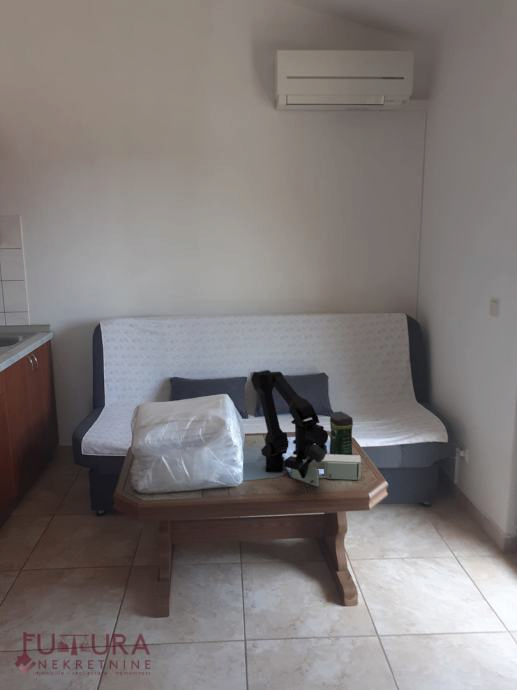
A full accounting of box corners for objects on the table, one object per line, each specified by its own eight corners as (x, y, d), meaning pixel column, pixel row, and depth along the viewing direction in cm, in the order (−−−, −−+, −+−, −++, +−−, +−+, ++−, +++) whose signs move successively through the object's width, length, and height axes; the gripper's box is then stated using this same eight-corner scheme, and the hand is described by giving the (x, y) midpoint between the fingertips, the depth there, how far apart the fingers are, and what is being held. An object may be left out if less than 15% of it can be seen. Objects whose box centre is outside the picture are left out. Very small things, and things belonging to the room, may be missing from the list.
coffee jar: (355, 459, 225) (356, 416, 221) (337, 462, 222) (338, 419, 218) (343, 450, 234) (344, 408, 230) (326, 453, 231) (327, 411, 227)
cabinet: (290, 479, 209) (290, 461, 208) (292, 469, 217) (292, 452, 216) (360, 482, 206) (361, 464, 204) (359, 472, 214) (360, 455, 212)
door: (288, 478, 210) (288, 461, 208) (291, 476, 211) (291, 459, 210) (315, 488, 202) (315, 470, 200) (318, 486, 203) (318, 469, 202)
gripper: (310, 450, 188) (311, 493, 191) (334, 433, 203) (334, 473, 206) (282, 444, 194) (283, 485, 197) (307, 428, 209) (308, 467, 212)
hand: (303, 477), depth 203 cm, fingers closed
